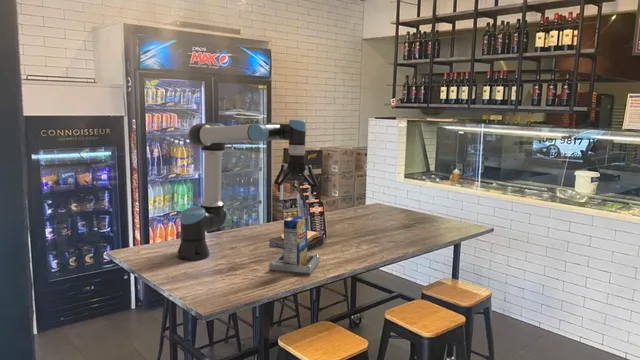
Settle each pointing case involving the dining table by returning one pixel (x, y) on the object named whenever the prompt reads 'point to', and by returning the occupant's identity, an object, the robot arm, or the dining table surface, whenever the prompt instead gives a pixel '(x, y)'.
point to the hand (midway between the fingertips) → (295, 200)
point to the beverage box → (295, 240)
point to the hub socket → (294, 269)
